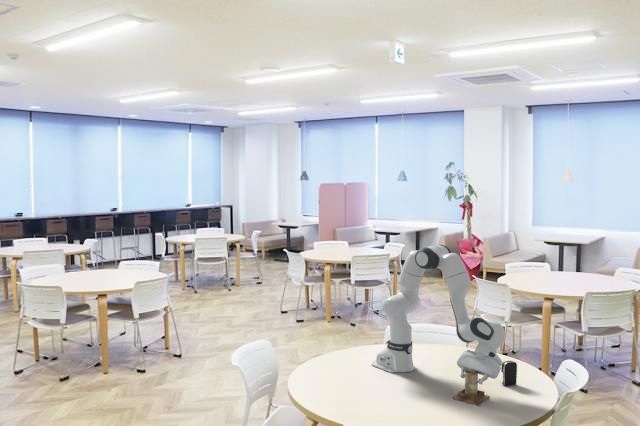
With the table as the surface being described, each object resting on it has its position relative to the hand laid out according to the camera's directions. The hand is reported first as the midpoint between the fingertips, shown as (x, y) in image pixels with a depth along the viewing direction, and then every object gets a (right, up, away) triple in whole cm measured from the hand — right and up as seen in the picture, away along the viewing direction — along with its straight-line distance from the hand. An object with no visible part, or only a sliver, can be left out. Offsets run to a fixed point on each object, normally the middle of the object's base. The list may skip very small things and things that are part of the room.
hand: (470, 380), depth 258 cm
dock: (0, -8, +1) cm, 8 cm away
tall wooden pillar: (0, -8, +1) cm, 8 cm away
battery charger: (+23, -7, +17) cm, 30 cm away
